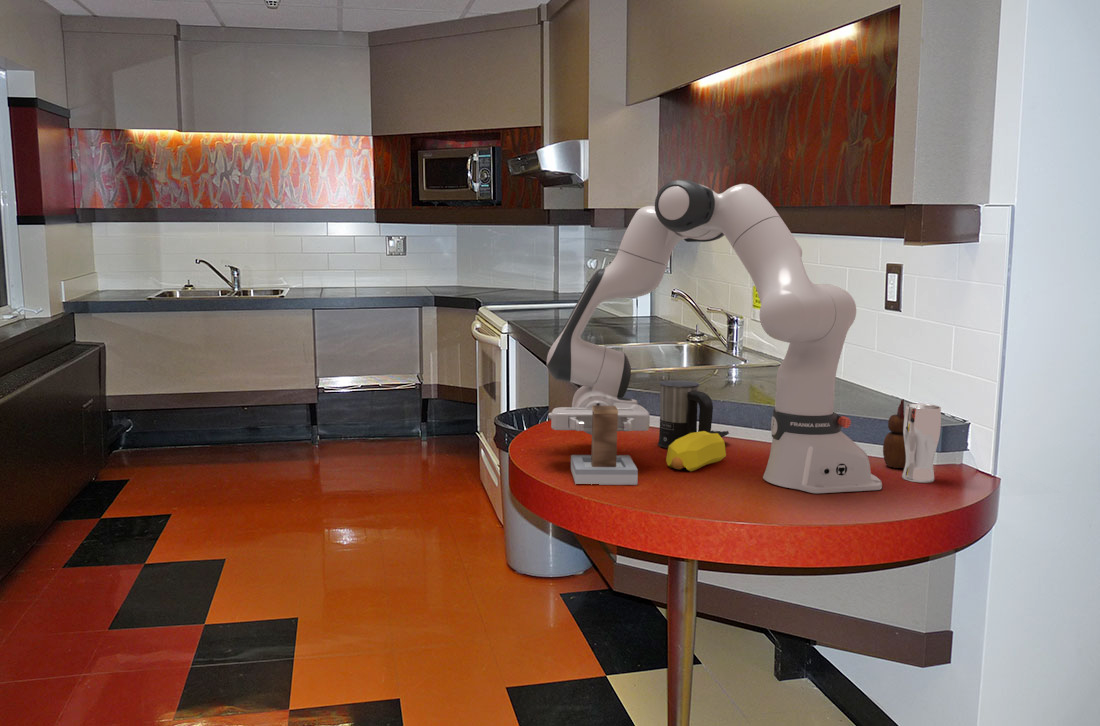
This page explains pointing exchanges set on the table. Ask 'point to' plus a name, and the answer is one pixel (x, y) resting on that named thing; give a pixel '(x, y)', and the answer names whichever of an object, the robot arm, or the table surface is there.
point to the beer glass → (920, 441)
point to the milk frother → (683, 411)
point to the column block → (604, 436)
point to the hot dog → (695, 450)
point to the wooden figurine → (895, 440)
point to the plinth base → (604, 471)
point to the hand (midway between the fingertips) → (603, 427)
